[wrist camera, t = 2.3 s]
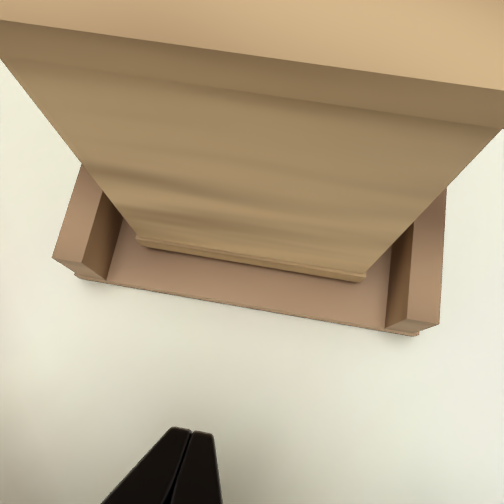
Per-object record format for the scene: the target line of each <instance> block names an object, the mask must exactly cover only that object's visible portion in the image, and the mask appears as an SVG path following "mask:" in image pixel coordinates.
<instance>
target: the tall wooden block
mask: <svg viewBox="0 0 504 504" xmlns="http://www.w3.org/2000/svg"><path fill="white" fill-rule="evenodd" d="M0 59H1V60H2V62H3V63H4V64H5V65H6V67H7V68H8V69H9V71H10V72H11V73H12V74H13V76H14V77H15V78H16V80H17V81H18V82H19V83H20V85H21V86H22V87H23V89H24V90H25V91H26V92H27V94H28V95H29V96H30V98H31V99H32V100H33V101H34V103H35V104H36V105H37V107H38V108H39V109H40V110H41V112H42V113H43V114H44V116H45V117H46V118H47V119H48V121H49V122H50V123H51V125H52V126H53V127H54V128H55V130H56V131H57V132H58V134H59V135H60V136H61V137H62V139H63V140H64V141H65V143H66V144H67V145H68V146H69V148H70V149H71V150H72V152H73V153H74V154H75V155H76V157H77V158H78V159H79V161H80V162H81V163H82V165H83V166H84V167H85V168H86V170H87V171H88V172H89V174H90V175H91V176H92V177H93V179H94V180H95V181H96V183H97V184H98V185H99V186H100V188H101V189H102V190H103V192H104V193H105V194H106V195H107V197H108V198H109V199H110V201H111V202H112V203H113V204H114V206H115V207H116V208H117V210H118V211H119V212H120V213H121V215H122V216H123V217H124V219H125V220H126V221H127V222H128V224H129V225H130V226H131V228H132V229H133V230H134V231H135V233H136V238H135V239H136V240H137V242H138V243H139V244H140V245H141V246H145V247H150V248H156V249H162V250H168V251H174V252H180V253H186V254H192V255H198V256H204V257H209V258H215V259H221V260H227V261H233V262H239V263H245V264H251V265H257V266H263V267H269V268H275V269H281V270H287V271H293V272H299V273H305V274H311V275H317V276H322V277H328V278H334V279H340V280H346V281H352V282H359V283H361V282H362V281H363V280H364V279H365V278H366V272H367V270H368V269H369V268H370V267H371V266H372V265H373V264H374V263H375V262H376V261H377V259H378V258H379V257H380V256H381V255H382V254H383V253H384V252H385V251H386V250H387V249H388V248H389V247H390V246H391V245H392V244H393V243H394V242H395V241H396V240H397V239H398V237H399V236H400V235H401V234H402V233H403V232H404V231H405V230H406V229H407V228H408V227H409V226H410V225H411V224H412V223H413V222H414V221H415V220H416V219H417V218H418V217H419V215H420V214H421V213H422V212H423V211H424V210H425V209H426V208H427V207H428V206H429V205H430V204H431V203H432V202H433V201H434V200H435V199H436V198H437V197H438V196H439V195H440V193H441V192H442V191H443V190H444V189H445V188H446V187H447V186H448V185H449V184H450V183H451V182H452V181H453V180H454V179H455V178H456V177H457V176H458V175H459V174H460V173H461V171H462V170H463V169H464V168H465V167H466V166H467V165H468V164H469V163H470V162H471V161H472V160H473V159H474V158H475V157H476V156H477V155H478V154H479V153H480V152H481V151H482V149H483V148H484V147H485V146H486V145H487V144H488V143H489V142H490V141H491V140H492V139H493V138H494V137H495V136H496V135H497V134H498V133H499V132H500V131H501V130H502V129H504V0H0Z"/></svg>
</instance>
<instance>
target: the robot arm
mask: <svg viewBox="0 0 504 504" xmlns="http://www.w3.org/2000/svg"><path fill="white" fill-rule="evenodd" d="M101 504H223V501H222V494H221V486H220V479H219V472H218V464H217V457H216V449H215V442H214V436H213V435H212V434H211V433H206V432H201V431H194V432H193V433H192V431H191V430H189V429H185V428H180V427H171V428H170V429H169V430H168V431H167V432H166V433H165V434H164V435H163V436H162V437H161V438H160V440H159V441H158V442H157V443H156V444H155V445H154V446H153V447H152V448H151V449H150V450H149V452H148V453H147V454H146V455H145V456H144V457H143V458H142V459H141V460H140V461H139V462H138V464H137V465H136V466H135V467H134V468H133V469H132V470H131V471H130V472H129V473H128V474H127V476H126V477H125V478H124V479H123V480H122V481H121V482H120V483H119V484H118V485H117V486H116V488H115V489H114V490H113V491H112V492H111V493H110V494H109V495H108V496H107V497H106V498H105V500H104V501H103V502H102V503H101Z"/></svg>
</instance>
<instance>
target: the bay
mask: <svg viewBox="0 0 504 504" xmlns="http://www.w3.org/2000/svg"><path fill="white" fill-rule="evenodd" d="M446 192H447V187H446V188H445V189H444V190H443V191H442V192H441V193H440V195H439V196H438V197H437V198H436V199H435V200H434V201H433V202H432V203H431V204H430V205H429V206H428V207H427V208H426V209H425V210H424V211H423V212H422V213H421V214H420V215H419V217H418V218H417V219H416V220H415V221H414V222H413V223H412V224H411V225H410V226H409V227H408V228H407V229H406V230H405V231H404V232H403V233H402V234H401V235H400V236H399V237H398V239H397V240H396V241H395V242H394V243H393V244H392V245H391V246H390V247H389V248H388V249H387V250H386V251H385V252H384V253H383V254H382V255H381V256H380V257H379V258H378V259H377V261H376V262H375V263H374V264H373V265H372V266H371V267H370V268H369V269H368V270H367V272H366V278H365V279H364V280H363V281H362V282H361V283H359V282H352V281H346V280H340V279H334V278H328V277H322V276H317V275H311V274H305V273H299V272H293V271H287V270H281V269H275V268H269V267H263V266H257V265H251V264H245V263H239V262H233V261H227V260H221V259H215V258H209V257H204V256H198V255H192V254H186V253H180V252H174V251H168V250H162V249H156V248H150V247H145V246H141V245H140V244H139V243H138V242H137V240H136V239H135V238H136V233H135V231H134V230H133V229H132V228H131V226H130V225H129V224H128V222H127V221H126V220H125V219H124V217H123V216H122V215H121V213H120V212H119V211H118V210H117V208H116V207H115V206H114V204H113V203H112V202H111V201H110V199H109V198H108V197H107V195H106V194H105V193H104V192H103V190H102V189H101V188H100V186H99V185H98V184H97V183H96V181H95V180H94V179H93V177H92V176H91V175H90V174H89V172H88V171H87V170H86V168H85V167H84V166H83V165H82V164H81V167H80V171H79V174H78V177H77V180H76V183H75V186H74V189H73V193H72V196H71V199H70V202H69V205H68V208H67V211H66V215H65V218H64V221H63V224H62V227H61V230H60V233H59V237H58V240H57V243H56V246H55V249H54V252H53V255H52V258H53V259H55V260H56V261H58V262H59V263H61V264H63V265H64V266H66V267H67V268H69V269H70V270H72V271H74V272H75V274H74V275H75V276H77V277H78V278H80V279H86V280H91V281H97V282H103V283H109V284H114V285H120V286H126V287H132V288H137V289H143V290H149V291H155V292H160V293H166V294H172V295H178V296H183V297H189V298H195V299H201V300H206V301H212V302H218V303H224V304H229V305H235V306H241V307H247V308H252V309H258V310H264V311H270V312H275V313H281V314H287V315H293V316H298V317H304V318H310V319H316V320H321V321H327V322H333V323H339V324H344V325H350V326H356V327H362V328H367V329H373V330H379V331H385V332H390V333H396V334H402V335H408V336H413V337H414V336H417V335H419V331H421V330H424V329H427V328H430V327H433V326H436V325H438V324H439V320H440V302H441V283H442V265H443V247H444V229H445V210H446Z"/></svg>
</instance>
